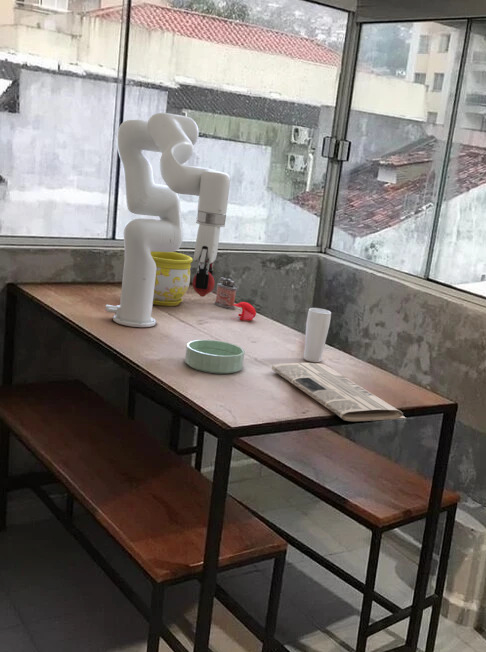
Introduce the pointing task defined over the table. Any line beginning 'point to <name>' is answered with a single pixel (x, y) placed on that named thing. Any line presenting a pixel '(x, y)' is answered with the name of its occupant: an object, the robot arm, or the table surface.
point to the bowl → (214, 356)
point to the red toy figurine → (246, 311)
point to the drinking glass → (316, 333)
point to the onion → (210, 287)
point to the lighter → (225, 293)
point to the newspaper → (337, 392)
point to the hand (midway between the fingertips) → (203, 285)
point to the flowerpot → (171, 277)
